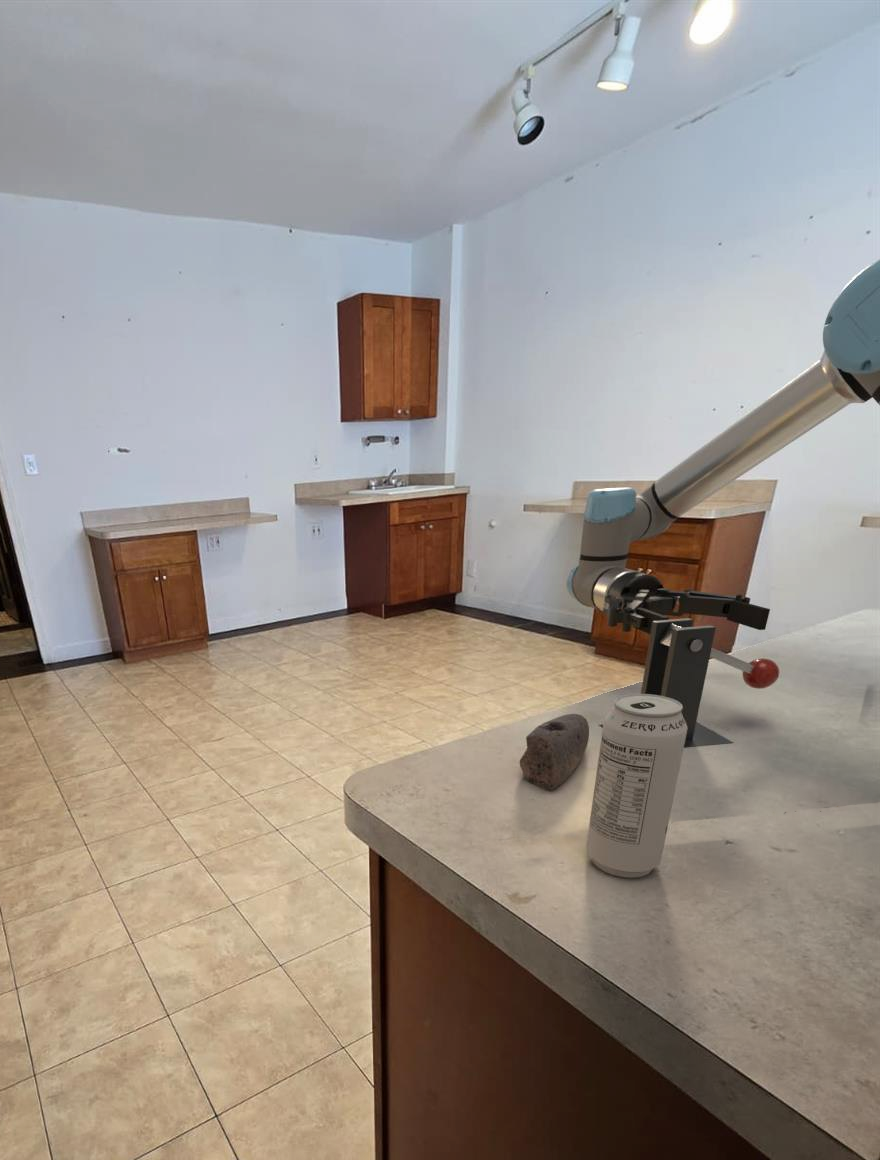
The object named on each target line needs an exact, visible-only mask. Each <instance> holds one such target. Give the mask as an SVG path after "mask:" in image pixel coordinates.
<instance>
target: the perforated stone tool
mask: <svg viewBox="0 0 880 1160" xmlns="http://www.w3.org/2000/svg"><path fill="white" fill-rule="evenodd" d="M589 737H590V726H589V722H588V720H587V718H586V717H585V716H583V715H582V714H579V713H568V714H562V715H560V716H556V717H555V718H552V719H550V720H547V721H545V722H543V723H541V724H540V725H537V726H536V727H535V728H534V729H533V730H532V731H531V732H530V733H529V734H528V735H526V738H525V740H526V750H525V751H524V753H523V755H522V756H521V758H520V759H519V767H520V769H521V771H522V775H523V779H524V780H525V781H527V782H528V783H531V784H533V785H535V786H537V787H539V788H541V789H544V790H548V791H551V792H552V791H554V790H556V789H557V788H558V787H560V786H561V785H563V784H564V783H565V782H566V781H567V780H568V779H569V778H570V776H571V775H572V774H573V773H574V771H575V770H576V769H577V767H578V765H579V763H580V761H581V759H582V757H583V756H584V754H585V753H586V749H587V747H588V743H589V739H590V738H589Z"/></svg>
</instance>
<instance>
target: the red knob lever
mask: <svg viewBox="0 0 880 1160" xmlns="http://www.w3.org/2000/svg"><path fill="white" fill-rule="evenodd" d="M673 628H682V627H679V626H677V625H674V624H671V625H670V627H669V628H668V630H667V632H666V633H665V635H664V637H663V638H662V640H661V641H660V643H662V644H664V645H666V646H669V647H670V641H671V636H672V630H673ZM710 659H714V660H716V661H718V662H721V663H723V664H726V665H727V666H730V667H733V668H735V669H737V670H739V671H742V680H743V681H744V683H745V684H746V685H747V686H749V687H750V688H753V689H761V690H762V689H767V688H768V687H771V686H772V685H774V684H775V683H776V682H777V681H778V679H779V676H780V668H779V666H778V665H777V663H776V662H774V660H772V659H769V658H757V659H754V660H752V661H750V662H747V661H744V660H741V659H739V658H737V657H735V656H733V655H730V654H728V653H725V652H723V651H721V650H718V649H717V648H714V647H712V649H711V653H710Z"/></svg>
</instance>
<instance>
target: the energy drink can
mask: <svg viewBox="0 0 880 1160" xmlns="http://www.w3.org/2000/svg"><path fill="white" fill-rule="evenodd" d="M682 708H683V706H682V704H681V703H680V702H678V701H676V700H674V699H671V698H668V697H664V696H659V695H651V694H641V693H631V694H624V695H621V696H619V697H617V698H616V699H615V701H614V706H613V707H612V709H610V711H609V712H608V713H607V715H606V716H605V717H604V719H603V723H602V724H603V728H602V731H601V738H600V746H599V752H598V753H599V754H598V758H597V759H598V760H597V766H596V773H595V774H596V775H595V782H594V787H593V788H594V789H593V794H592V802H591V809H590V815H589V823H588V831H587V837H586V845H585V850H586V852H587V854H588V856H589V857H590V859H591V862H592V863H593V865H594V866H595V867H597V868H598V869H599V870H601V871H603V872H604V873H607V874H609V875H612V876H616V877H620V878H629V879H630V878H631V879H632V878H633V879H634V878H639V877H640V878H641V877H644V876H647V875H648V874H651V872H652V870H655V869H656V868H657V867H658V866H659V865H660V864H661V862H662V857H663V853H664V848H665V843H666V839H667V834H668V833H667V832H668V827H669V823H670V817H671V813H672V808H673V804H674V797H675V793H676V788H677V783H678V778H679V773H680V768H681V762H682V758H683V753H684V749H685V748H684V744H685V739H686V734H687V729H688V728H687V725H686V722H685V720H684V718H683V715H682V713H681V711H682Z"/></svg>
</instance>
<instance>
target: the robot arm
mask: <svg viewBox="0 0 880 1160" xmlns="http://www.w3.org/2000/svg"><path fill="white" fill-rule="evenodd" d="M822 344H823V349H824V350H823V353H822V355H821V357H820V359H819V360H818V361H816V362H815V363H813V364H812V365H811V366H809V367H808V368H807V369H805V370H804V371H802V372H801V373H800V374H799V375H796V377H794V378H793V379H792V380H790V381H789V382H788V383H786V384H785V385H783V387H781V388H779V389H778V390H776V392H774V393H773V394H771V395H770V396H769V397H767V398H766V399H764V401H762V402H761V403H759V404H758V405H756V406H755V407H754V408H752V409H751V410H750V411H748V412H747V413H746V414H744V415H743V416H742V417H740V418H739V419H738V420H736V421H735V422H733V424H731V425H730V426H728V427H727V428H726V429H724V430H722V432H720V433H719V434H717V435H716V436H715V437H714V438H712V439H711V440H709V441H708V442H707V443H706V444H704V445H703V446H701V447H700V448H698V449H697V450H696V451H694V452H693V453H691V454H690V455H689V456H688V457H686V458H685V459H683V461H681V462H679V463H678V464H677V465H675V466H674V467H673V468H671V469H670V470H668V471H667V472H666V473H664V474H663V475H662V476H661V477H659V478H658V479H657V480H655V481H654V482H653V483H652V484H650V485H648V486H647V487H646V488H644V489H643V490H642V491H641V492H639V493H638V494H637V492H636V489H634V488H633V487H607V488H605V487H604V488H598V489H597V488H596V489H592V490H591V491H590V492H589V493H588V495H587V498H586V504H585V510H584V511H583V525H582V533H581V543H580V552H579V553H580V554H579V558H578V563H577V564H576V565H575V566H573V567H572V569H571V570H570V572H569V574H568V576H567V579H566V589H567V593H568V594H569V596H570V597H571V598H572V599H573V600H575V601H577V602H578V603H579V604H581V605H583V606H585V607H588V608H593V609H595V610H597V611H601V612H602V613H603V614H605V615H606V617H607V626H608V627H611V628H614V627H617V626H618V624H622V626H621V632H623V633H629V632H631V631H632V627H633V628H634V629H635V630H638V631H641V632H643V633H646V634H647V635H651V629H652V623H653V621H660V620H670V617H671V616H672V617H682V616H684V615H686V614H687V615H694V616H695V615H696V616H706V617H717V618H726V621H729V622H733V623H736V624H738V625H741V626H744V627H748V628H751V629H755V630H758V631H765V630H766V627H767V624H768V620H769V617H770V616H769V615H770V611H771V608H767V607H763V606H760V605H756V604H753V603H750V602H751V597H748V596H743V594H742V593H738V594H736V595H729V594H719V593H710V592H703V591H697V590H692V589H690V588H689V589H684V590H683V591H681V590H680V591H678V590H672V589H670V588H665V587H664V585H663V583H662V582H661V580H660V579H659V578H657V577H656V576H654V575H652V574H648V573H644V572H641V571H638V570H634V569H630V568H626V566H627V561H628V555H629V548H630V543H634V542H639V541H643V540H650V539H652V538H655V537H656V536H658V535H660V534H662V533H664V532H665V531H666V530H667V529H669V527H670V526H671V524H672V523H673V522H675V521H676V520H677V519H679V518H680V517H682V516H683V515H685V514H686V513H687V512H689V511H691V510H693V509H694V508H695V507H697V506H698V505H699V504H701V503H702V502H705V500H707V499H708V498H710V497H712V496H713V495H714V494H717V492H720V491H721V490H722V489H723V488H726V487H727V486H728V485H729V484H731V483H733V482H734V481H736V480H738V479H739V478H740V477H742V476H744V474H746V473H748V472H749V471H751V470H753V469H754V468H755V467H757V466H758V465H760V464H761V463H763V462H764V461H766V460H767V459H769V458H770V457H772V456H773V455H775V454H777V453H779V451H781V450H783V449H784V448H786V447H787V446H789V445H790V444H792V443H794V442H795V441H796V440H798V439H799V438H801V437H802V436H804V435H805V434H806V433H808V432H810V431H811V430H812V429H814V428H816V427H817V426H819V425H820V424H822V423H823V422H825V421H826V420H828V419H829V418H831V417H833V416H834V415H835V414H837V413H838V412H840V411H841V410H842V409H845V408H846V407H847V406H849V405H851V404H864V403H866V402H868V401H870V400H871V399H872V398H873V400H874V401H875V402H876V403H877V404H878V405H879V406H880V258H879V259H877V260H875V261H874V262H871V264H869V265H868V266H866V267H864V269H862V270H861V271H860V272H858V273H857V274H856V275H855V276H854V277H853V278H852V279H851V280H850V281H849V282H848V283H847V284H845V286H844V287H843V288H842V290H841V291H840V293H838V295H837V297H836V298H835V300H834V301H833V303H832V304H831V307H830V309H829V311H828V313H827V315H826V318H825V321H824V325H823V331H822ZM677 604H678V608H677V609H678V610H675V609H676V606H677ZM669 616H670V617H669Z"/></svg>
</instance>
